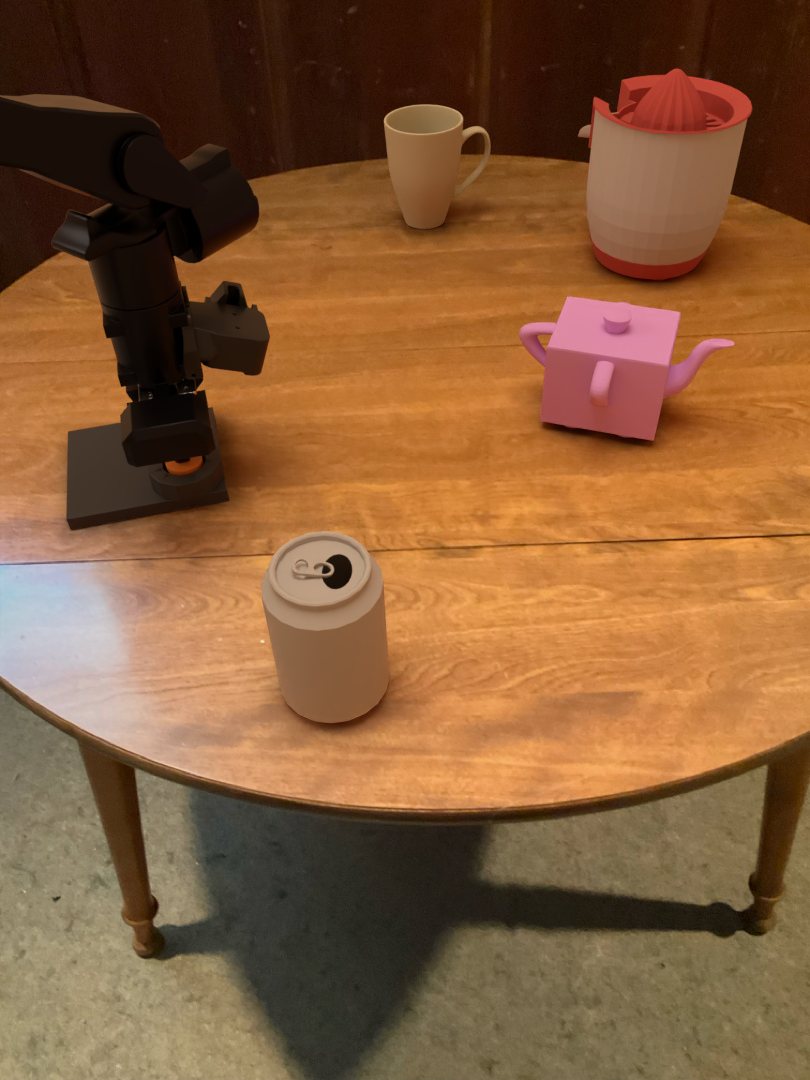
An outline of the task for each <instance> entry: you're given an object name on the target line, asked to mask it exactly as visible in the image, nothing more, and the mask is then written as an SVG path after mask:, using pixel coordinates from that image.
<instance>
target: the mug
mask: <svg viewBox="0 0 810 1080" xmlns="http://www.w3.org/2000/svg"><path fill="white" fill-rule="evenodd" d="M461 113H462V112H459V111H458V110H457V109H454V108H453V107H449V106H445V105H439V104H412V105H407V106H402V107H398V108H396V109H394V110H391V111H390V112H389V113H387V114H386V115H385V117H384V119H383V126H384V137H385V145H386V154H387V162H388V163H387V164H388V170H389V176H390V180H391V184H392V187H393V191H394V194H395V197H396V199H397V202H398V206H399V208H400V211H401V213H402V216H403V219H404V223H405V224H406V225H407V226H409V227H411V228H414V229H419V230H430V229H434V228H435V229H436V228H437V227H440V226H441V225H443V224H444V223H445V221H446V217H447V214H448V212H449V208H450V205H451V202H452V199H455V198H456V197H458V196H459V195H461V194H462V193H463V192H464V191H465V190H466V189H467V188H468V187H469V186H470V185H471V184H472V183H474V181H476V179H477V178H478V177H479V176H480V175H481V173H483V171H484V169H485V168H486V167H487V165H488V162H489V160H490V158H491V157H490V156H491V149H492V148H491V139H490V135H489V133H488V132H487V130H486V129H485V128H483V127H482V126H479V125H475V126H469V127H468V128H465V129H463V128H464V116H463V115H462V114H461ZM476 134H481V135H482V137H483V140H484V151H483V156H482V159H481V160H480V162H479V164H478V165H477V166H476V168H475V169H474V170H473V171H472V172H471V173H470V174H469V175H468V177H466V179H464V180H463V182H461V183H460V184H459V186H458V187H457V183H458V177H459V173H460V164H461V155H462V148H463V147H462V146H463V145H464V144H465V142H466V141H467V140H469V138H470V137H472V136H474V135H476Z"/></svg>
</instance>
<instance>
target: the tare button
mask: <svg viewBox="0 0 810 1080" xmlns="http://www.w3.org/2000/svg"><path fill="white" fill-rule="evenodd" d="M165 464H166V468H167V471H168V474H171V475H177V476H182V475H188V474H192V473H194V472H195V471H197V470H199V469H201V468H202V466H203V465H204V464H203V460H202V456H198V457H193V458H190V461H188V462H184V463H176V462H175V461H170V462H165Z"/></svg>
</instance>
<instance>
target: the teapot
mask: <svg viewBox="0 0 810 1080" xmlns="http://www.w3.org/2000/svg"><path fill="white" fill-rule="evenodd" d="M681 316H682V313H681V311H676V310H669V309H663V308H657V307H656V308H655V307H650V306H649V307H648V306H643V305H634V304H631V303H629V302H626V301H619V302H614V301H605V300H598V299H592V298H584V297H578V296H567V297H566V299H565V302H564V304H563V306H562V309H561V312H560V314H559V316H558V319H557V321H556V322H550V321H549V322H548V321H539V322H537V321H536V322H528V323H527V324H524V325H523V326H522V327H521V328H520V330H519V332H518V337H519V339H520V342H521V344H522V346H523V347H524V349H525V350H526V351H527V352H528V353H529V354H530V355H531V356H532V358H533V359H535V361H536V362H538V363H539V364H540V365H541V366H542V367H543V368H544V373H543V385H542V395H541V406H540V416H539V421H540V422H544V423H549V424H556V425H561V426H564V427H566V428H569V429H584V430H589V431H595V432H600V433H606V434H613V435H617V436H618V437H621V438H627V439H628V438H636V439H642V440H647V441H652V442H653V441H655V437H656V432H657V430H658V429H657V428H658V425H659V419H660V414H661V412H662V411H661V410H662V406H663V403H664V399H666V398H670V397H673V396H676V395H678V394H680V393H682V392H683V391H685V390H686V389H687V387H688V386H689V385H690V384H691V383H692V382H693V380H694V379H695V377H696V375H697V374H698V372H699V370H700V369H701V367H702V366H703V364H704V363H705V361H706V360H708V358H709V357H710V356H711V355H712V354H714V353H715V352H717V351H721V350H723V349H727V348H731V347H733V346H734V345H735V342H734V341H733V340H730V339H726V338H708V339H705V340H703V341H702V342H700V343H698V344H697V345H695V347H694V348H693V350H692V351H691V353H690V354H689V355H688V357H687V358H686V359H684V360H683V361H682V362H680V363H675V364H672V361H673V357H674V356H673V355H674V352H675V345H676V341H677V336H678V331H679V326H680V321H681ZM541 335H547V336H550V339H549V342H548V344H547V346H546V349H545V347H544V346H543V345H542V343H541V341H540V340H539V336H541Z"/></svg>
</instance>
